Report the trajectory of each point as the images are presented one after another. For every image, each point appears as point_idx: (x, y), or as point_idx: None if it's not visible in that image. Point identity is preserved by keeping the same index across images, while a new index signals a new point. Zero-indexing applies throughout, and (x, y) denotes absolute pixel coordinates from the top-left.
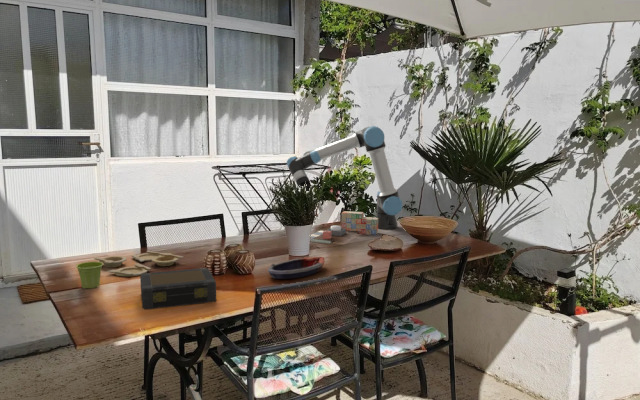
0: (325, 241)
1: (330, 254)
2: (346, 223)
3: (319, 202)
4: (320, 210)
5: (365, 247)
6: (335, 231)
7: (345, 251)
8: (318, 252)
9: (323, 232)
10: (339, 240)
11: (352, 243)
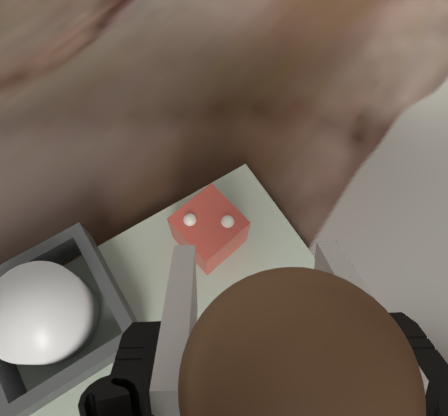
0: (263, 188)
1: (368, 11)
2: None
3: (163, 349)
4: (196, 300)
5: (137, 21)
6: (99, 258)
7: (274, 15)
8: (404, 59)
9: (247, 220)
10: (135, 206)
11: (127, 109)
